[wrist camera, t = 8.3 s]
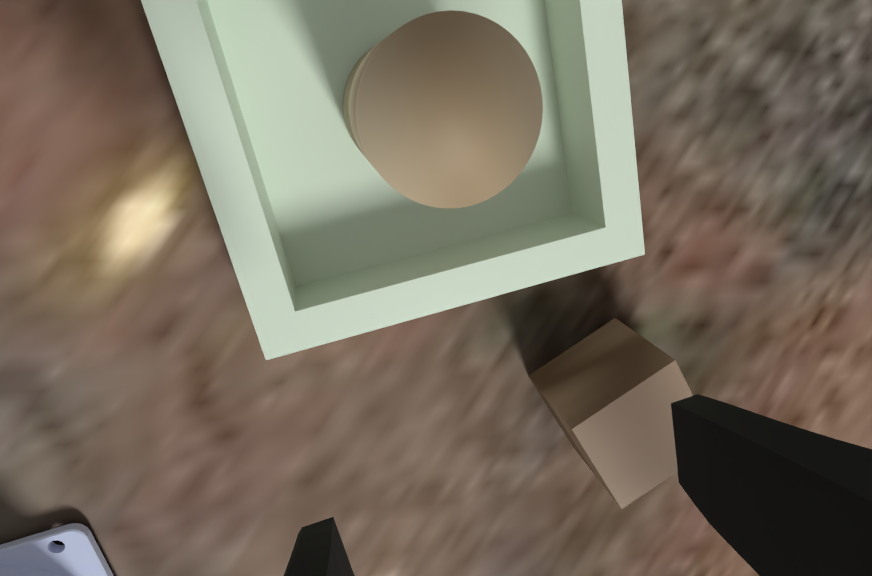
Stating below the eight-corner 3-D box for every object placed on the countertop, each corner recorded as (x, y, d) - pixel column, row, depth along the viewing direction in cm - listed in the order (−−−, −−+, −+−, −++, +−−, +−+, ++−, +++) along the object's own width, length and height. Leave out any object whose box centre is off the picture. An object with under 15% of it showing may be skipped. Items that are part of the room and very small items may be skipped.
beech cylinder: (358, 184, 18) (378, 225, 13) (329, 48, 17) (338, 27, 11) (480, 160, 19) (550, 188, 13) (462, 26, 18) (532, -5, 12)
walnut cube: (572, 445, 24) (621, 509, 20) (527, 374, 23) (571, 429, 19) (653, 391, 24) (717, 445, 20) (614, 317, 23) (675, 360, 19)
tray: (271, 323, 20) (265, 360, 17) (136, -80, 16) (99, -120, 13) (600, 234, 21) (644, 254, 18) (554, -155, 17) (602, -204, 14)
